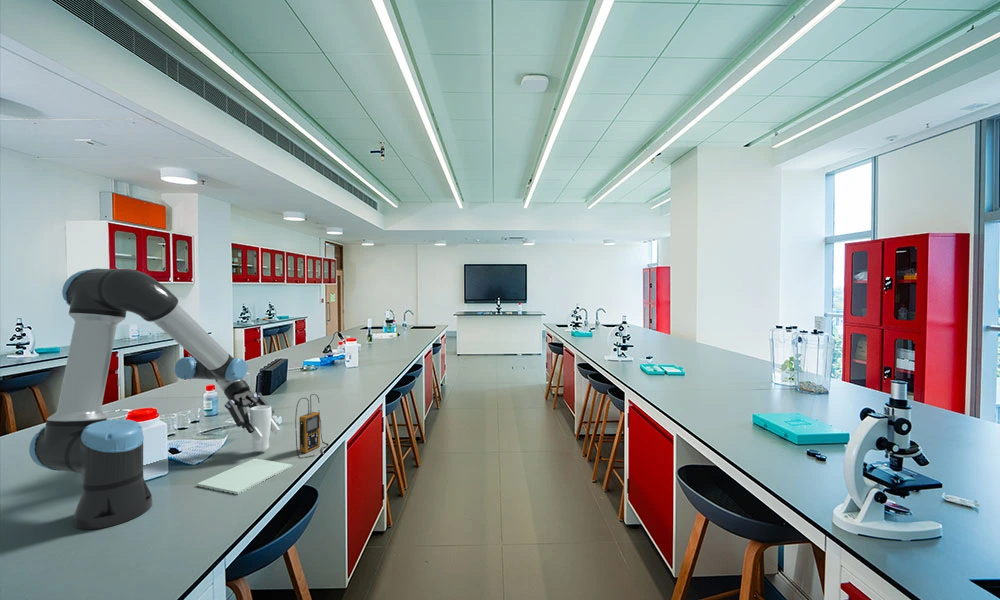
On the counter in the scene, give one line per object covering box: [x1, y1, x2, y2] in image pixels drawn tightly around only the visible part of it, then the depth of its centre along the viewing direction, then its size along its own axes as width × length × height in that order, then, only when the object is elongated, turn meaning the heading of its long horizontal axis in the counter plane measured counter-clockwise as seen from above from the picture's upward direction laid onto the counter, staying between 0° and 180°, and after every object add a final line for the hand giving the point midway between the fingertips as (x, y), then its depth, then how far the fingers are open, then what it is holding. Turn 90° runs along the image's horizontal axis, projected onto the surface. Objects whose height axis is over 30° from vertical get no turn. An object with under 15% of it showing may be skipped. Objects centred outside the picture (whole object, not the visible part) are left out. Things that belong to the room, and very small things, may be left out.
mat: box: [196, 458, 293, 495], centre depth 133 cm, size 20×16×1 cm
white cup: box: [249, 405, 273, 452], centre depth 152 cm, size 7×7×15 cm
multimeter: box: [294, 393, 329, 459], centre depth 154 cm, size 15×10×20 cm
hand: (268, 435), depth 151 cm, fingers closed on white cup, 7 cm apart
